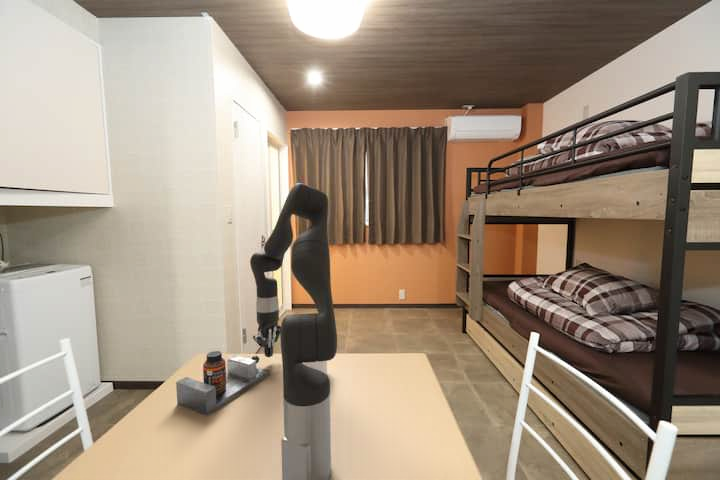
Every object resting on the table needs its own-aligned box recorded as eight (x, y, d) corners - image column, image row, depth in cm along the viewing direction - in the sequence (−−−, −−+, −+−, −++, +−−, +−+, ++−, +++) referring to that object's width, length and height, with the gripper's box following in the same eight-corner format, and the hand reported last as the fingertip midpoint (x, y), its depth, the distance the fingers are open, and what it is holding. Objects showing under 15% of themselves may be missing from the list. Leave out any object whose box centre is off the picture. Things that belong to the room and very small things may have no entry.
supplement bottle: (213, 399, 90) (211, 359, 89) (199, 393, 93) (197, 355, 92) (230, 388, 95) (229, 351, 94) (217, 383, 98) (215, 347, 97)
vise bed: (207, 415, 85) (205, 392, 85) (177, 404, 90) (176, 381, 90) (269, 374, 107) (269, 355, 106) (242, 367, 112) (242, 349, 111)
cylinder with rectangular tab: (322, 383, 101) (322, 346, 100) (295, 381, 103) (294, 344, 102) (329, 369, 110) (329, 335, 109) (304, 367, 111) (303, 333, 110)
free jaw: (248, 380, 100) (248, 365, 100) (227, 373, 104) (226, 359, 104) (268, 367, 108) (268, 353, 108) (248, 362, 112) (247, 348, 112)
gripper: (262, 315, 106) (264, 366, 107) (288, 304, 117) (289, 351, 119) (245, 312, 109) (247, 361, 110) (272, 302, 121) (273, 347, 122)
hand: (269, 356), depth 115 cm, fingers closed
